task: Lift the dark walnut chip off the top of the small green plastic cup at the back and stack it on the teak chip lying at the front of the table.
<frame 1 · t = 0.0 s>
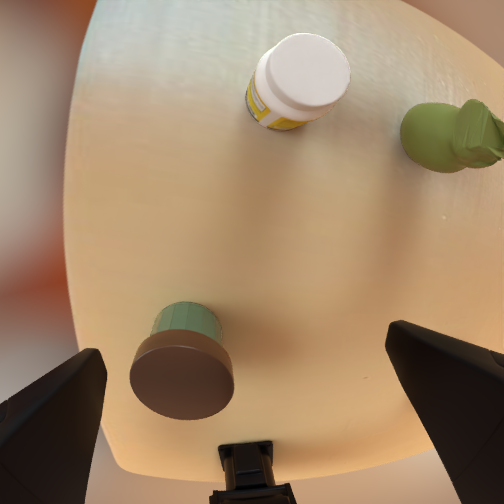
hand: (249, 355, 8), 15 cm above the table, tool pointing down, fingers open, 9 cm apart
supplement bottle: (276, 101, 20), on the table
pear: (412, 136, 21), on the table
plastic cup: (187, 331, 24), on the table
walnut chip: (183, 369, 19), point 5 cm above the table, touching plastic cup
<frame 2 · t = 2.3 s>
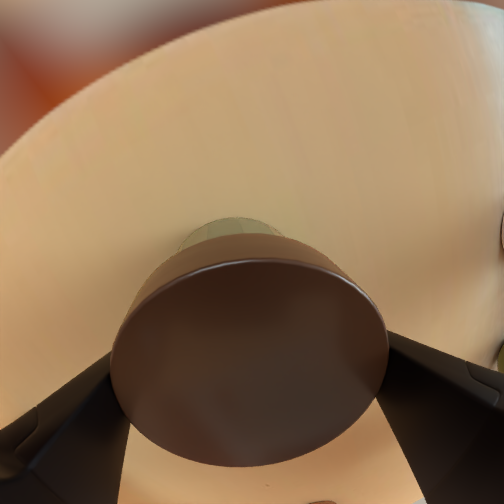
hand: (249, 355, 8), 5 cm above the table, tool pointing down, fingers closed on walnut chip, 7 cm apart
plastic cup: (236, 282, 13), on the table
walnut chip: (247, 350, 8), point 5 cm above the table, touching gripper, plastic cup
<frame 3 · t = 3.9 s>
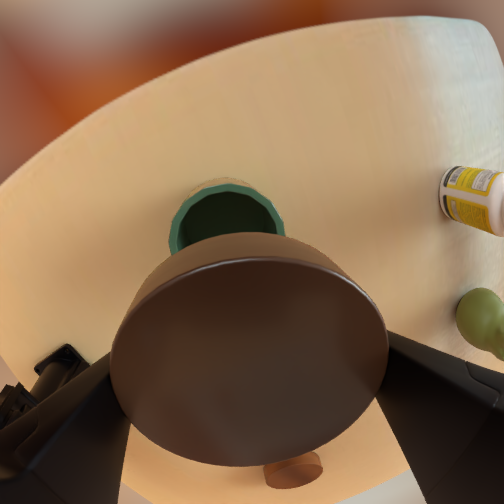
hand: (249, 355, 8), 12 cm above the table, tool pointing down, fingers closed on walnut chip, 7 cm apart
supplement bottle: (454, 192, 21), on the table
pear: (463, 302, 25), on the table
plastic cup: (224, 222, 19), on the table
teak chip: (291, 465, 29), on the table
walnut chip: (247, 349, 8), point 12 cm above the table, touching gripper
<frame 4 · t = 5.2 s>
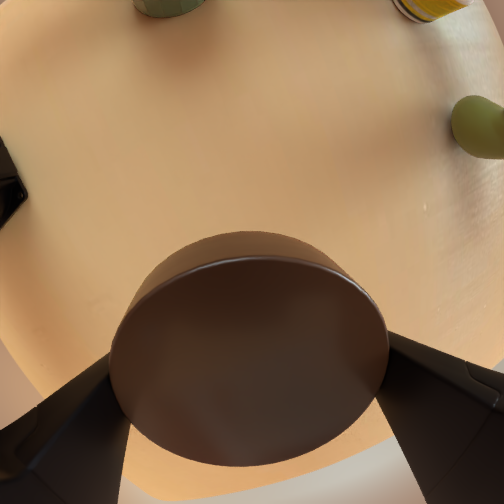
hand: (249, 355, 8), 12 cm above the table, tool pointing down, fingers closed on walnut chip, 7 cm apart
supplement bottle: (409, 3, 15), on the table
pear: (458, 126, 19), on the table
walnut chip: (247, 349, 8), point 12 cm above the table, touching gripper
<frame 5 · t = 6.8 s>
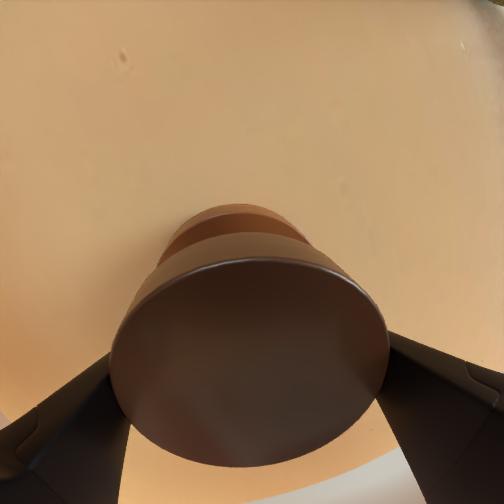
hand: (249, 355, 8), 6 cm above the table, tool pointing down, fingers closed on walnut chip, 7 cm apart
teak chip: (237, 281, 13), on the table
walnut chip: (247, 350, 8), point 5 cm above the table, touching gripper
when the fingers open (2 cm above the table, at t = 8.2 s): walnut chip stays where it is, resting on teak chip.
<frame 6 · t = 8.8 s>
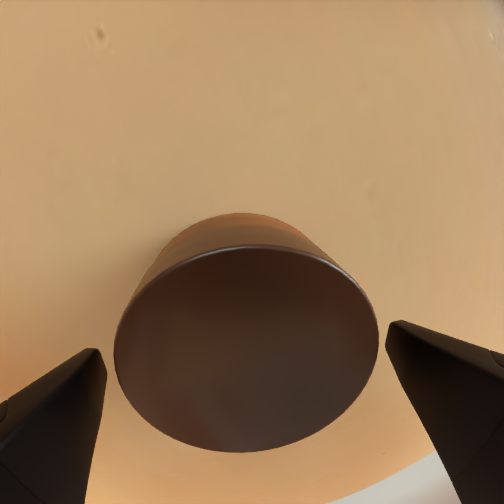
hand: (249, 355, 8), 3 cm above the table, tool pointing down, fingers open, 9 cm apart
teak chip: (240, 308, 11), on the table, touching walnut chip
walnut chip: (244, 337, 9), point 2 cm above the table, touching teak chip
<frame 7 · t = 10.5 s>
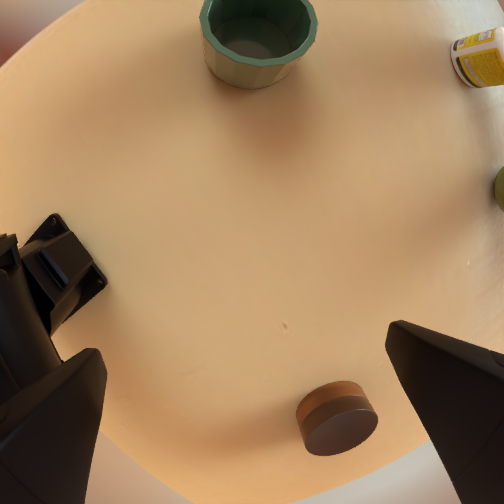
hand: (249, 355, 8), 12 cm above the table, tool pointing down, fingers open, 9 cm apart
supplement bottle: (465, 64, 17), on the table
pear: (498, 186, 21), on the table
plastic cup: (249, 49, 16), on the table
teak chip: (330, 406, 25), on the table, touching walnut chip
walnut chip: (336, 420, 24), point 2 cm above the table, touching teak chip
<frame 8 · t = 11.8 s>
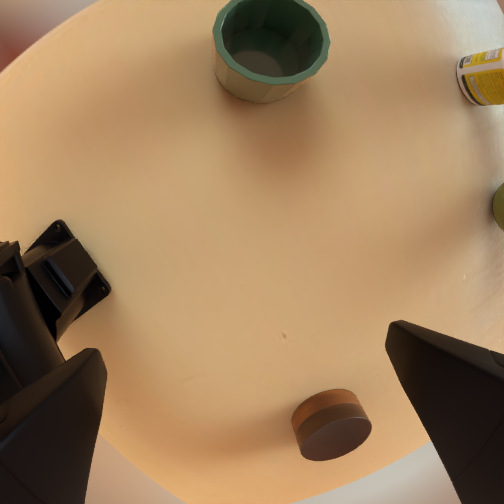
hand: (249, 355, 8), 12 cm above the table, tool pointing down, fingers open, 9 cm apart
supplement bottle: (470, 81, 18), on the table
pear: (496, 202, 22), on the table
plastic cup: (259, 62, 16), on the table
teak chip: (325, 413, 26), on the table, touching walnut chip
walnut chip: (331, 426, 24), point 2 cm above the table, touching teak chip
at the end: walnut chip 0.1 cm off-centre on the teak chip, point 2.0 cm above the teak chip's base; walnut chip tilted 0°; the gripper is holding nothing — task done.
